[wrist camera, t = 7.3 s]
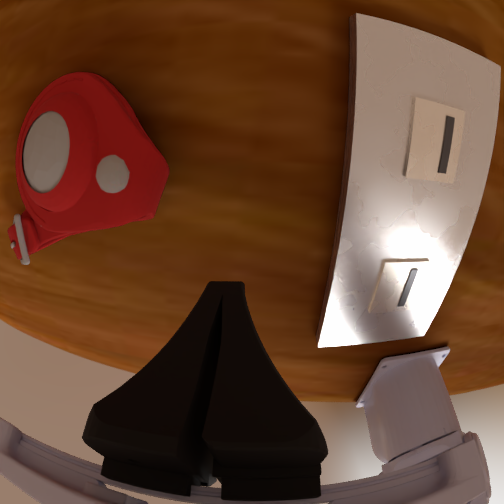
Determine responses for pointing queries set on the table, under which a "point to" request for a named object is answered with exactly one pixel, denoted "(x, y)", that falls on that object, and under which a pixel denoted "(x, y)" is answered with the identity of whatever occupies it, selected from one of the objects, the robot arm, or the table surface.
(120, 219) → the tracker holder
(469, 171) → the white slotted plate
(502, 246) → the table surface
